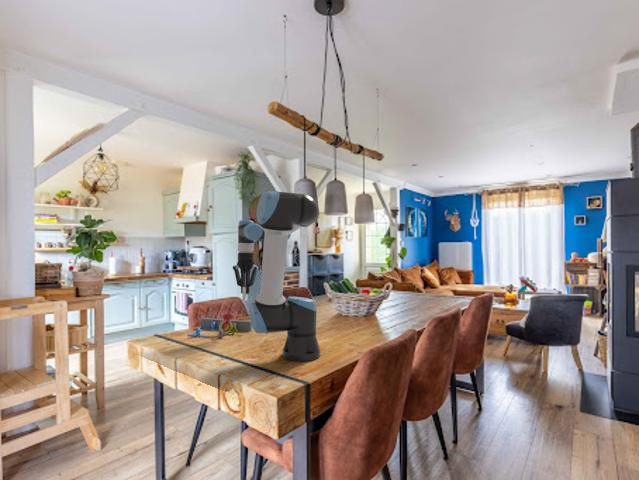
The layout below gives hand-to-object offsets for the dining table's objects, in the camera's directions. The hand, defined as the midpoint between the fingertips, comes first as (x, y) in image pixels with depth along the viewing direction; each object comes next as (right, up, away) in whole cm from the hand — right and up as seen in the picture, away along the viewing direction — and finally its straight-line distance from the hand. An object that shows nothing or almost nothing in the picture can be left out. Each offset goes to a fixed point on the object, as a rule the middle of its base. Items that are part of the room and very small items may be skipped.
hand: (245, 300), depth 171 cm
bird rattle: (-9, -17, +2) cm, 20 cm away
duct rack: (-14, -17, +4) cm, 23 cm away
